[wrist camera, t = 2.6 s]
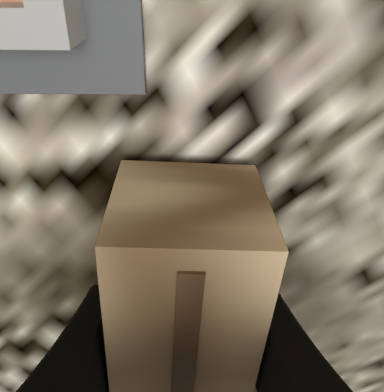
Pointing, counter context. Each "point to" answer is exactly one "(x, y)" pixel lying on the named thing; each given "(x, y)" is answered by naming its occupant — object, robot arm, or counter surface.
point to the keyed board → (72, 47)
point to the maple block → (187, 276)
